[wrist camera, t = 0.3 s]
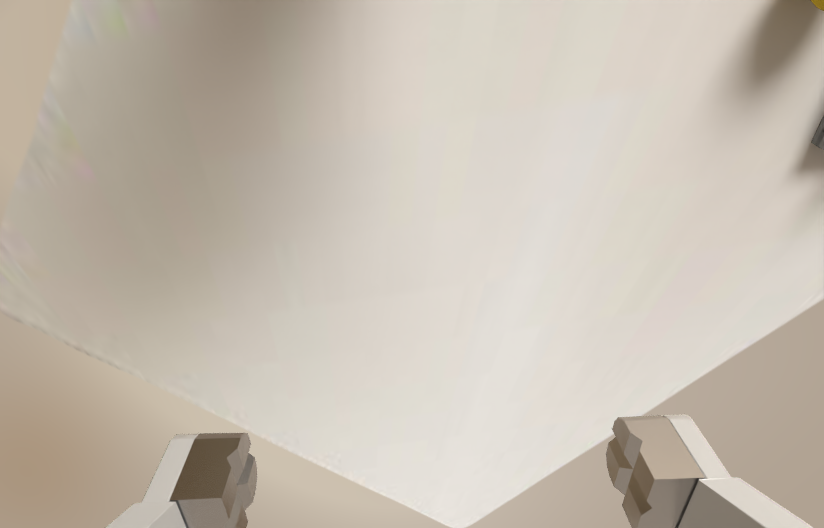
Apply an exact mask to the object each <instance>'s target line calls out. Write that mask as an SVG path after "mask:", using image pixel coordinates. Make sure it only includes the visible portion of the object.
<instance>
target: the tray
mask: <svg viewBox="0 0 824 528" xmlns="http://www.w3.org/2000/svg"><path fill="white" fill-rule="evenodd" d="M811 143H813V144H815V145H816V146H818V147H819V148H821V149H823V150H824V117H823V119H822V121H821V123H820V125H819V127H818V129H817V131H816V134H815V136H814V138H813V140H812V142H811Z"/></svg>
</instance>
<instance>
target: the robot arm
mask: <svg viewBox="0 0 824 528" xmlns="http://www.w3.org/2000/svg"><path fill="white" fill-rule="evenodd" d="M612 430H613V432H614V434H615V436H616V437H615V438H614V439H613V440H612V441H610V442H609V444H608V448H607V452H606V457H607V468H608V471H609V475H610V478H611V480H612V483H613V485H614V487H615V488H617V489H618V490H619V491H620V492H621V493H623V494H624V495H625V497H624V501H623V504H622V506H623V508H624V511H625V513H626V515H627V517H628V520H629V522H630V525H631V527H632V528H813V527H812V526H810V525H809V524H807V523H806V522H804V521H803V520H801V519H800V518H798V517H797V516H795V515H794V514H792V513H791V512H789V511H788V510H786V509H785V508H783V507H782V506H780V505H779V504H777V503H776V502H774V501H773V500H771V499H770V498H769V497H767V496H766V495H764V494H762V493H761V492H759V491H758V490H757V489H755V488H753V487H752V486H751V485H749V484H748V483H746V482H744V481H743V480H741V479H740V478H738V477H737V478H736V477H734V478H732V477H731V476H730V475H729V473H728V472H727V470H726V469H725V467H724V466H723V464H722V463H721V461H720V460H719V458H718V457H717V455H716V454H715V452H714V451H713V449H712V448H711V447H710V445H709V444H708V442H707V441H706V439H705V438H704V436H703V435H702V433H701V432H700V430H699V429H698V427H697V426H696V424H695V423H694V421H693V420H692V418H690V417H689V416H688V415H663V416H661V415H656V416H636V417H618V418H617V419H616V420H615V422H614V425H613V429H612ZM250 445H251V443H250V439H249V436H248V433H204V434H176V435H175V436H174V437H173V438H172V439H171V440H170V442H169V444H168V446H167V448H166V451H165V453H164V455H163V457H162V459H161V461H160V463H159V466H158V468H157V470H156V472H155V474H154V476H153V478H152V481H151V483H150V485H149V487H148V489H147V491H146V493H145V495H144V498H143V500H142V502H141V503H134V504H132V505H131V506H130V507H129V508H128V509H127V510H125V511H124V512H123V513H122V514H121V515H120V516H118V517H117V518H116V519H115V520H114V521H112V522H111V523H110V524H109V525H108V526H106V528H246V526H247V523H248V521H247V517H246V513H245V510H246V508H247V507H248V506H249V505H250V504H251V503H252V502H253V499H254V495H255V490H256V482H257V467H256V461H255V458H254V457H253V456H252V455H251V454H249V453H248V452H249V448H250Z"/></svg>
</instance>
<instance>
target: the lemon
mask: <svg viewBox="0 0 824 528" xmlns="http://www.w3.org/2000/svg"><path fill="white" fill-rule="evenodd" d="M811 2H812V3H813V4H814V5H815V6H816V7H817V8H819V9H821V10H823V11H824V0H811Z"/></svg>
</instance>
